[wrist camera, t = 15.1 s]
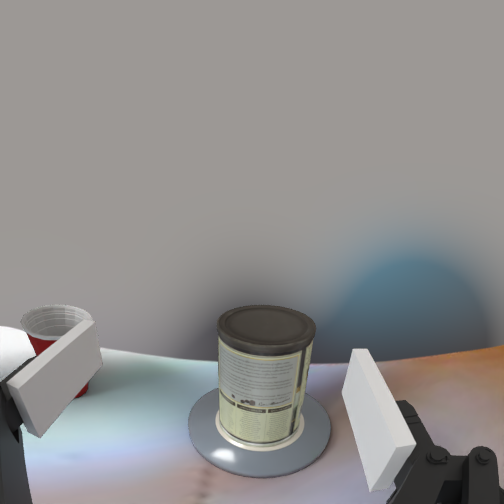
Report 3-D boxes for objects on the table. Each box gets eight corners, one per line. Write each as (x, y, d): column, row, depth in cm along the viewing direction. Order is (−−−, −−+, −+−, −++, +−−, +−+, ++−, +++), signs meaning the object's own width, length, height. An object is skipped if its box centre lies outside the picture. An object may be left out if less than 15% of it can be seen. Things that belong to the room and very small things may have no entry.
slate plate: (172, 466, 26) (171, 460, 26) (204, 380, 43) (204, 375, 43) (337, 478, 25) (339, 473, 24) (321, 388, 42) (322, 383, 42)
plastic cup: (101, 412, 33) (83, 335, 30) (33, 407, 29) (9, 332, 27) (108, 369, 43) (97, 302, 40) (50, 367, 39) (35, 301, 37)
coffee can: (212, 399, 37) (211, 305, 35) (284, 392, 40) (295, 302, 37) (225, 453, 28) (225, 349, 25) (312, 439, 30) (333, 339, 27)
